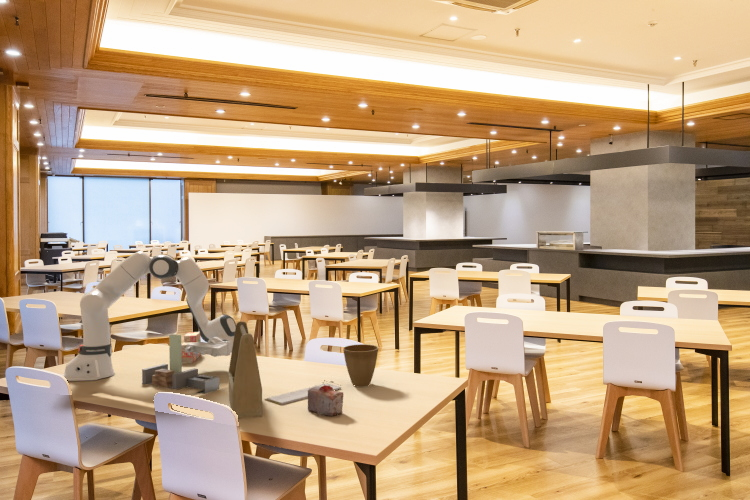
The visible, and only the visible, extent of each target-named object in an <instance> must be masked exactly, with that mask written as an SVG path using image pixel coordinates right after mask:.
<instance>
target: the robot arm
mask: <svg viewBox="0 0 750 500" xmlns="http://www.w3.org/2000/svg"><path fill="white" fill-rule="evenodd" d="M147 274H151V275H152V276H153V277H154V278H156V279H159V280H163V279H164V280H165V279H168V278H171V277H175V278H176V279H177V280H178V281H179V282H180V285H181V286H182V287H183V289H184V291H185V293H186V303H187V306H188V308H189V311H190V313H191V315H192V317H193V319H194V322H195V323H196V326H197V328H198V332H200V339H202V341H201V342H194V343H188V344H187V348H186V349H185V352H187V353H189V352H194V353H201V355H202V356H206V355H209V356H212V357H222V356H225V357H227V356H229V357H230V356H231V354H232V347H233V341H234V335H235V329H236V324H237V322H235V320H234V318H233V317H232V316H230V315H229V314H221V315H220V316H218V317H216V318H214V319H212V320H209V318H208V316H207V314H206V312H205V310H204V307H203V305H202V304H203V300H204V298H205V297H206V295H207V294H208V292H209V289H210V284H209V280H208V279H207V277H206V275H205V273H204V272H203V271H202V269H201V267H200V266H199V265H198V264H197V263H196V262H195V261H194V259H192V258H190V257H184V258H180V259H179V260H175V258H174V257H173V256H171V255H169V254H158V255H155V256H152V257H151V256H150V255H148V254H147V253H145V252H143V251H136V252H134V253H132V254H131V255H130V256H128V257H127V258H125V259H124V260H123V261H121V262H120V264H118V265H117V266H116V267H115V268H113V269H112V271H110V272H109V273H108V274H107V275H106V276H105V277H104V278H103V279H102V280H101V281H100V282H98V284H96V286H95V287H94V288H92V289H91V290H89V291H88V292H86V293H84V295H83V296H82V297H81V298H80V302H79V307H80V316H81V324H82V335H83V336H82V337H83V340H82V341H83V343H82V344H80V345H79V347H78V350H77V351H78V354H77V355H76V356H75V357H73V358H72V359H71V360H69V362H67V363H66V365H65V368H64V373H62V374H61V375H63V376H64V377H65V378H66V379H67V380H68V381H67V382H74V381H75V382H76V381H77V382H78V381H79V382H80V381H98V380H101V379H104V378H108V377H109V378H110V377H112V376H114V375H115V370H114V368H113V362H112V353H113V350H112V343H111V325H110V320H109V308H110V307H111V306H112V305H114V303H116V302H117V301H118V300H119V299H120V298H121V297H122V296H123V295H124V294H125V293H127V292H128V291H129V290H130V289H131V288H132V287H133V286H134V285H135V284H136V283H138V282H139V280H141V279H142V278H143V277H144V276H146V275H147ZM203 341H204V342H203ZM201 355H200V356H201Z"/></svg>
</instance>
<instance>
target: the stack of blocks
mask: <svg viewBox="0 0 750 500" xmlns="http://www.w3.org/2000/svg"><path fill="white" fill-rule="evenodd" d="M201 339H202V338H201V335H200V332H199V331H189V332H187V333H186V334H184V335H183V342H181V358H182V364H194V363H195V361H196V360H197V359H198V358H199V357H200V356H201V353H194V352H189V353H187V352H185V349H186V348H187V344H188V343H194V342H202V341H201Z"/></svg>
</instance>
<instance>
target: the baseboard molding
mask: <svg viewBox="0 0 750 500" xmlns="http://www.w3.org/2000/svg"><path fill="white" fill-rule="evenodd" d="M325 382H326V380H325V379H324V381H323V382H322V384H318V385H314V386H309V387H306V388H302V389H298V390H294V391H289V392H286V393H281V394H277V395H274V396H271V397H266V398H264V400H265V401H268V402H270V403H273V404H276V405H279V406H283V405H287V404H291V403H294V402H298V401H302V400H305V399H308V390H309V389H311V388H313V387H323V386H324V385H325V386H327V385H328V386H330V387H333V390H336V391H339V390H338V389H340V390H342V387H341V386H340V385H338V386H337V385H334V384H336V383H335V382H334V381H332V380H331V381H329V382H328V383H327V382H326V383H325ZM332 383H333V384H332Z"/></svg>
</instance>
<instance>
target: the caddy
mask: <svg viewBox="0 0 750 500" xmlns="http://www.w3.org/2000/svg"><path fill="white" fill-rule="evenodd" d="M260 375H261V374H260V370H259V364H258V358H257V352H256V347H255V340H254V336H253V335H252V333H249V329H248V325H247V323H246V322H245V321H243V320H242V321H241V320H240V321H237V322H236V329H235V335H234V341H233V347H232V352H231V353H230V361H229V367H228V400H229V406H230V409H231V408H232V410H233V411H235V412H236V414H237V415H238V419H246V418H247V419H248V418H256V417H257V418H258V417H259V418H260V417H262V416H263V386H262V381H261V376H260Z"/></svg>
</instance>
